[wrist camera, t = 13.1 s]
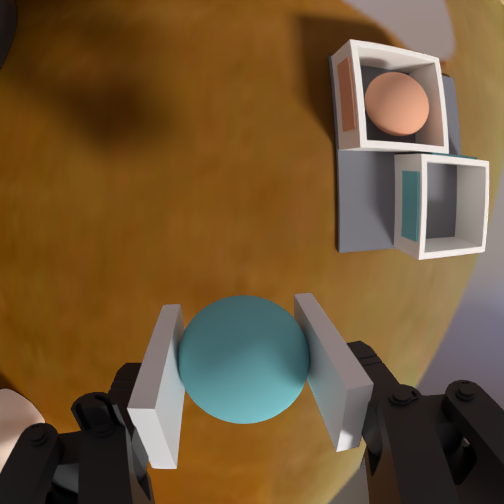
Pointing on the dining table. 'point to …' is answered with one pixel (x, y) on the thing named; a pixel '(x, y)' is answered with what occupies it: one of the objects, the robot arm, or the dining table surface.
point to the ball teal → (243, 359)
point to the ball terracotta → (396, 104)
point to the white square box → (352, 98)
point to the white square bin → (415, 206)
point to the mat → (390, 181)
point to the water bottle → (14, 420)
